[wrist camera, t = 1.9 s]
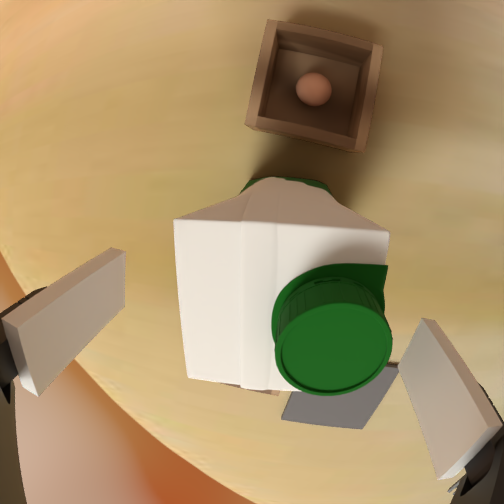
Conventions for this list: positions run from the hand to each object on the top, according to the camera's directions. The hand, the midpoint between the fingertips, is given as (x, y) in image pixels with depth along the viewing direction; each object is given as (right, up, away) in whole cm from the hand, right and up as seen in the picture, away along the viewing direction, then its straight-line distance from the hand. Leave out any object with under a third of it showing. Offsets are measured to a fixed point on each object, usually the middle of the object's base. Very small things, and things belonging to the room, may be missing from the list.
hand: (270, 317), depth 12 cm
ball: (+5, +17, +11) cm, 21 cm away
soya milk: (+2, +6, +16) cm, 18 cm away
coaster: (+10, -15, +22) cm, 29 cm away
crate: (+5, +17, +12) cm, 21 cm away
